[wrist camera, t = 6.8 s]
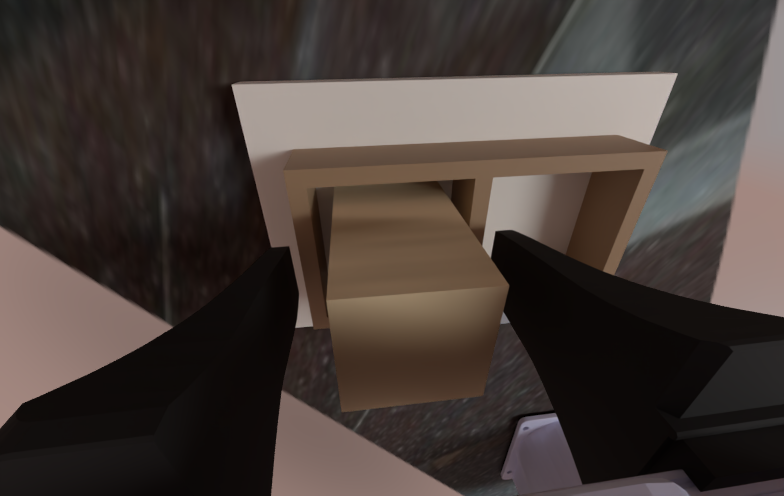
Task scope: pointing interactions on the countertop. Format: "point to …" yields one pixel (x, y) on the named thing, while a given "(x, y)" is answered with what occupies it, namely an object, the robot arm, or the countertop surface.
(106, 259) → the countertop surface
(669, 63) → the countertop surface
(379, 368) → the maple peg
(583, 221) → the socket board
